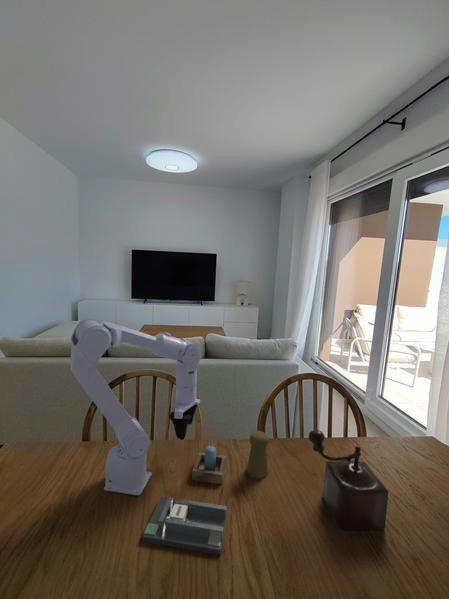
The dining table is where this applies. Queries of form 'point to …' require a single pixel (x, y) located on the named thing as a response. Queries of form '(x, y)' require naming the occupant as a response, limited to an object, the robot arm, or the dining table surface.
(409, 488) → the dining table surface
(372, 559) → the dining table surface
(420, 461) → the dining table surface
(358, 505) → the manual coffee grinder
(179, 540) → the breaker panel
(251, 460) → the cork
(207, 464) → the blue rounded cylinder
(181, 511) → the plate
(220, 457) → the stylus holder
